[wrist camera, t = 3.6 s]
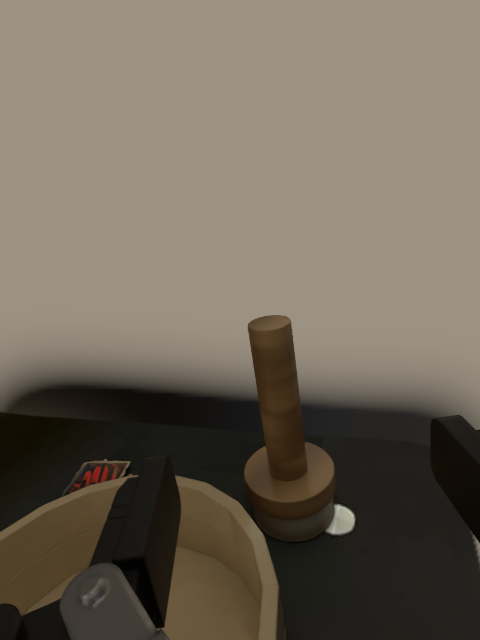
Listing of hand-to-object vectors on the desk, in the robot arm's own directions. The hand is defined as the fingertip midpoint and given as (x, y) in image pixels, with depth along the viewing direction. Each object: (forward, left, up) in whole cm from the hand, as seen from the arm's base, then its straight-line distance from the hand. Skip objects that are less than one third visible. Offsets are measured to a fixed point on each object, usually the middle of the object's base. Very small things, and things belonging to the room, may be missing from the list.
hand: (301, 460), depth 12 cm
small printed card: (+19, 0, -11) cm, 22 cm away
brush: (+6, -6, -11) cm, 14 cm away
